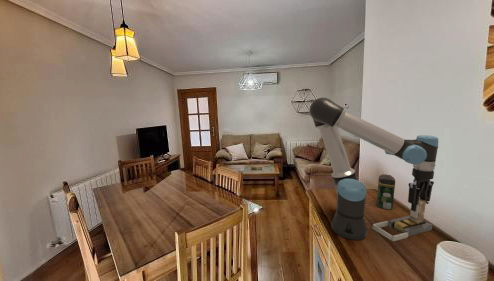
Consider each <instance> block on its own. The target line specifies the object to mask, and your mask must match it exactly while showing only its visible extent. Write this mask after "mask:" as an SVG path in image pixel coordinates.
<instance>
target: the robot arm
mask: <svg viewBox="0 0 494 281" xmlns="http://www.w3.org/2000/svg"><path fill="white" fill-rule="evenodd" d="M309 114H310V117H311V118H312V121H313V123H314V126H315V128H317V129H318V130H319V132H320V134H321V138H322V141H323V144H324V147H325V150H326V154H327V156H328V159H329V162H330V165H331V168H332V173H331V179H332V180H333V181H332V182H333V184H334V187H335V191H336V211H335V213H334V216H333V218H332V220H331V224H330V225H331V230H332V231H333V232H334V233H336V234H337V235H338V236H340V237H341V238H344V239H348V240H353V241H358V240H363V239H365V238H366V237H367V236H368V227H367V224H366V220H365V208H366V199H367V187H366V184H364V183H363V182H362V181H359V179H358V176H357V173H356V170H355V168H352V167H351V164H350V162H349V158H348V155H347V153H346V152H347V151H346V150H345V145H344V143H343V139H342V137H341V134H340V130H343V131H345V132H346V133H349V134H351V135H353V136H355V137H357V138H359V139H361V140H362V141H365V142H366V143H368V144H370V145H372V146H375V147H376V148H379V149H381V150H383V151H384V153H385V154H386V155H390V156H391V155H392V156H395V157H397V158H399V159H401V160H403V161H404V162H406V163H408V164H410V165H412V167H413V168H412V170H411V175H412V177H414V179H413V182H409V183H408V196H407V197H408V198H407V202H408V203H409V204H411V205H410V212H409V214H410V215H409V216H412V217H414V218H417V217H418V210H419V205H418V202H419V199H422V200H425V201H426V204H427V205H428V204H430V201H431V195H432V191H433V186H434V184H435V182H434V181H433V179H434V178H435V177H434V175H435V169H436V167H437V166H436V160H437V156H438V149H439V138H438V137H437V136H435V135H427V134H425V135H424V134H420V135H417V136H416V138H415V139H405V138H403V137H400V136H398V135H396V134H394V133H392V132H390V131H388V130H385V129H383V128H381V127H379V126H377V125H376V124H373V123H371V122H368V121H367V120H364V119H362V118H361V117H359V116H356V115H354V114H352V113H349V112H347V111H346V109H345V107H342V106H341V105H339V104H337V103H335V102H334V101H333V100H331V98H327V97H318V98H316V99H314V100H313V101H312V102H311V104H310V106H309ZM339 129H340V130H339Z"/></svg>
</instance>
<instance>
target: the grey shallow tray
mask: <svg viewBox="0 0 494 281" xmlns="http://www.w3.org/2000/svg"><path fill="white" fill-rule="evenodd" d="M406 219H407V220H409V221H410V215H406V216H403V217H397V218H394V219H389V220H387V221H388V226H387V227H389V228H391V229H392V230H394V231H396V232H397V233H398V234H402V232H400V231H398V230H397V229H395V228H394V224H395V222H398V221H400V222H402V220H406ZM432 230H433V224H432V223H429V222H427V221H425V220H423V224H421V225H417V226H413V227H409V228H405V229H403V233H406V232H407V233H408V237H412V236H415V235H419V234H421V233H425V232H426V233H427V232H429V231H432Z"/></svg>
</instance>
